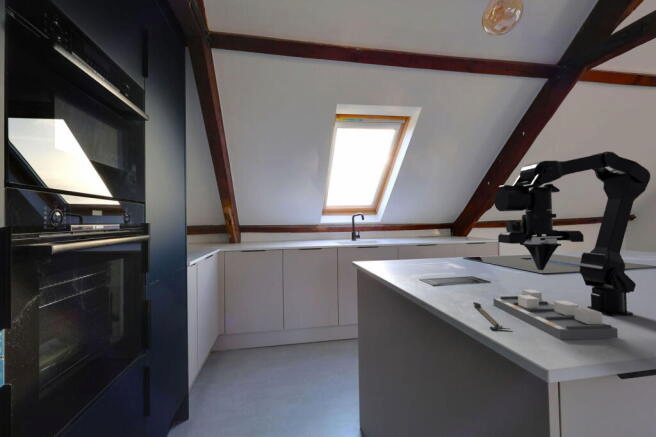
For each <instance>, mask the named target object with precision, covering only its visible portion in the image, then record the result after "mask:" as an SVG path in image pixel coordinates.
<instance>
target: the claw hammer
mask: <svg viewBox="0 0 656 437" xmlns="http://www.w3.org/2000/svg"><path fill="white" fill-rule="evenodd" d="M472 304H473V305H474V308H475V309H476V311H478V313H480V314H481V315H482V316H483V317H484V318H485V319H486V320H487V321H488V322H489V323H491V325H492V326H489V329H490V330H491V331H492V332H497V331H498V332H505V333H507V332H508V333H513V332H514V331H513V330H511V328H509V327H508V328H507V327H503V326H502V325H500V324H499V323H498V321H497V320H495V319H494V318H493V317H492V316H491V314H489V312H487V311H486V310H485V309H483V308H482V303H481V304H480V303H479V302H476V301H473V303H472Z"/></svg>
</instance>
